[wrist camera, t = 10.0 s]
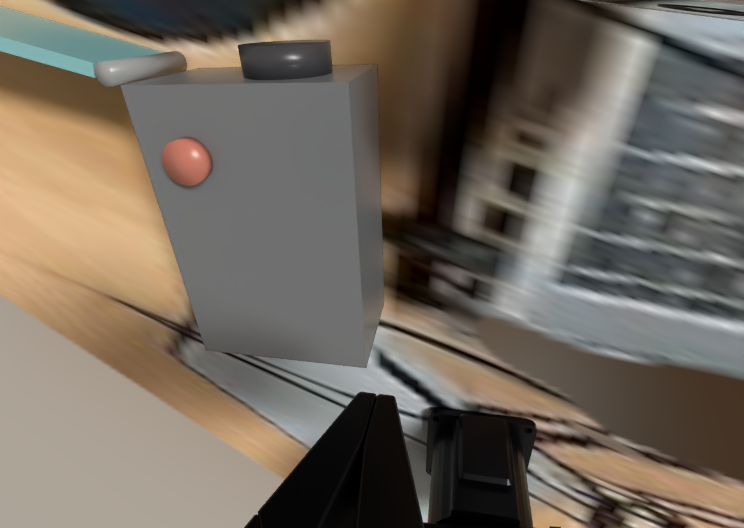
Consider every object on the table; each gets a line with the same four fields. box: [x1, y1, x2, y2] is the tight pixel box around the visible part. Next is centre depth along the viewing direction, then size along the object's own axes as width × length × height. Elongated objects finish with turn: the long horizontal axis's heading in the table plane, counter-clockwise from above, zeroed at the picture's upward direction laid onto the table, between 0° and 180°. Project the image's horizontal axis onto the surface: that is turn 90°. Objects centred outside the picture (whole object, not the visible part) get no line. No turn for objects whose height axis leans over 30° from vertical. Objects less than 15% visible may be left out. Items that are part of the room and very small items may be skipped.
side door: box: [0, 6, 187, 87], centre depth 16 cm, size 12×1×4 cm, turn 77°
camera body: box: [120, 40, 384, 368], centre depth 18 cm, size 13×8×6 cm, turn 2°
